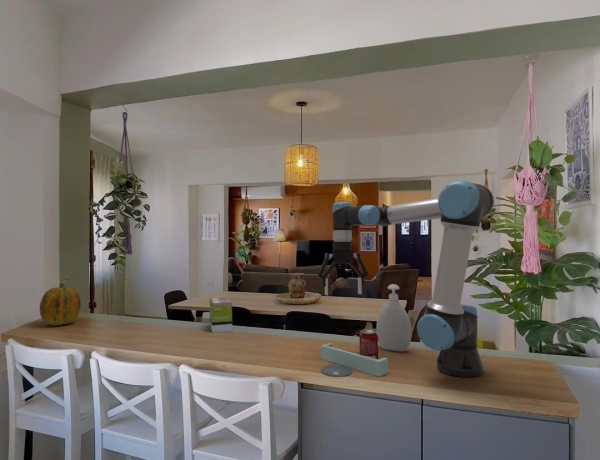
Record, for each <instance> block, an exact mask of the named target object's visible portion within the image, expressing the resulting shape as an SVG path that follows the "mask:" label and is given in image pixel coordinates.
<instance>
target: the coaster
mask: <svg viewBox="0 0 600 460" xmlns="http://www.w3.org/2000/svg"><path fill="white" fill-rule="evenodd" d="M320 372H321V374H323V375H324V376H327V377H334V378H335V377H336V378H344V377H348V376H351V375H352V374H353V368H349V367H347V366H343V365H340V364H329V365H325V366H323V367H321V368H320Z"/></svg>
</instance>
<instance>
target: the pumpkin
mask: <svg viewBox="0 0 600 460" xmlns="http://www.w3.org/2000/svg"><path fill="white" fill-rule="evenodd" d="M64 278H65V279H64V280H61V281H60V282H59V284H58V287H51V288H49V289H48V290H46V291H45V292H44V294H43V295H42V298H41V300H40V303H39V315H40V317H41V319H42V320H43V322H44V323H45V324H47V325H50V326H54V327H55V326H56V327H57V326H58V325H59V326H63V324H64V325H69V324H71V323H73V322H74V321H75V320H76V319H77V318H78V316H79V314H80V312H81V308H82V307H81V305H82V300H81V295H80V293H79V292H78V291H77V290H76V289H74V288H72V287H70V286H69V287H66V285H65V284H66V283H68V282H69V280H70V276H67V275H66V276H65V277H64Z"/></svg>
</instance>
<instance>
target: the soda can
mask: <svg viewBox="0 0 600 460" xmlns="http://www.w3.org/2000/svg"><path fill="white" fill-rule="evenodd" d="M358 340H359V341H358V342H359V355H362V356H366V357H370V358H373V359H377V360H379V342H378V335H377V334H376V329H375V330H374V329H362V330H360V333H359V339H358Z"/></svg>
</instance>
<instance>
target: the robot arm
mask: <svg viewBox="0 0 600 460" xmlns="http://www.w3.org/2000/svg"><path fill="white" fill-rule="evenodd" d="M494 204H495V198H494V195H493V192H492V191H491V189H489V187H487V186H485V185H482V184H479V183H474V182H471V181H467V180H456V181H452V182H450V183H447V185H445V186H444V187H443V188H442V189H441V190H440V192H439V194H438V197H435V198H430V199H423V200H418V201H417V200H416V201H411V202H405V203H399V204H398V203H397V204H392V205H387V206H376V205H371V204H365V205H358V206H357V205H356V206H352V203H351V202H349V201H340V202H339V201H337V202H334V203H333V204H332V212H331V215H332V240H333V242H332V253H327V252H326V253H325V254H324V259H323V262H322V264H321V265H320V269H318V270H319V271H318V273H317V277H319V278H320V279H321V285H322V287H324V295H325V296H329V283H328V282H329V278H327V277H328V276H329V274H331V272H332V271H333V269H334V268H335V267H336V266H337V265H349V266H350V267H351V268H352V269H353V271H355V273H356V274H357V275H358V276H359V277H357V294H358V295H362V294H363V292H362V290H363V289H362V287H363V286H364V285H365V277H368V276H369V272H368V270H367V269H366V266H365V264H364V263H363V260H362V258H361V254H360V253H359V252H355V253H353V242H352V240H353V235H352V234H353V233H352V228H353V226H358V227H359V226H367V227H368V226H371V227H372V226H375V227H376V226H377V227H378V226H381V227H389V226H391V225H399V224H406V223H414V222H423V221H429V220H430V221H431V220H440V223H441V224H442V226H443V235H442V240H441V246H440V253H439V256H438V257H439V259H438V265H437V270H436V276H435V282H434V288H433V294H432V299H431V300H429V301H428V302H427V303H426V307H425V312H424V314H423V316H421V318H420V319H419V320H418V321H417V325H416V332H417V335H418V337H419V339H420V340H421V342H422V343H423V345H424V346H425V347H427V348H429V349H431V350H434V351H439V353H438V356H437V359H436V369H437V370H438V371H439V372H441V373H443V374H446V375H449V376H452V377H453V376H454V377H459V378H475V377H480V376H482V375H483V374H484V364H483V362H482V358H481V357H480V353H479V351H478V319H479V318H478V317H479V316H478V309H477V307H476V306H473V305H469V304H462V303H461V302H462V298H463V297H462V295H463V291H464V285H465V280H466V279H465V278H466V275H467V274H466V273H467V269H468V263H469V258H470V251H471V246H472V240H473V235H474V231H476V230H477V229H479V228H480V225H481V219H483V218H485V217H487V216H488V215H489V214H490V213H491V212H492V210H493V208H494ZM331 258H333V261H332V263H331V264H330V265H329V267H328V268H327V269H326V270H325V268H326V267H327V266H328V263H329V260H331ZM353 258H354V259H355V260H356V262H357V263H358V265H359V267H360V269H361V270H360V269H359V268H358V266H357V265H355V263H354V262H353V261H352V259H353Z"/></svg>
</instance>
